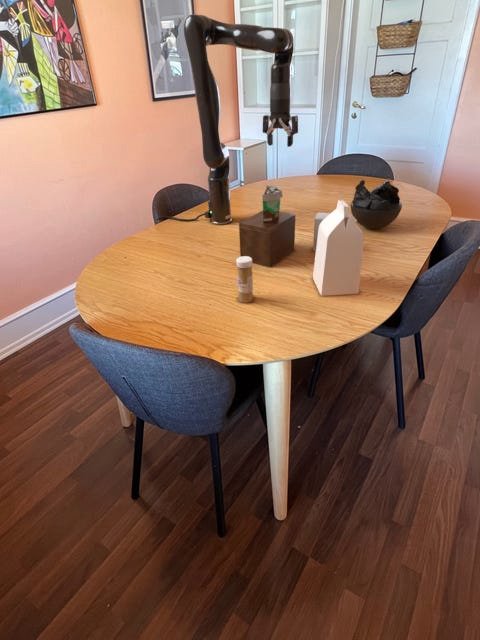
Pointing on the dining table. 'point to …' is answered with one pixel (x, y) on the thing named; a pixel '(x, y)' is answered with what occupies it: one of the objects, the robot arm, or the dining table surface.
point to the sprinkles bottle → (245, 279)
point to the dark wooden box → (267, 238)
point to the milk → (338, 253)
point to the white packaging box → (317, 221)
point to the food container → (271, 204)
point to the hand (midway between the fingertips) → (279, 145)
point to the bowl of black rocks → (376, 205)
